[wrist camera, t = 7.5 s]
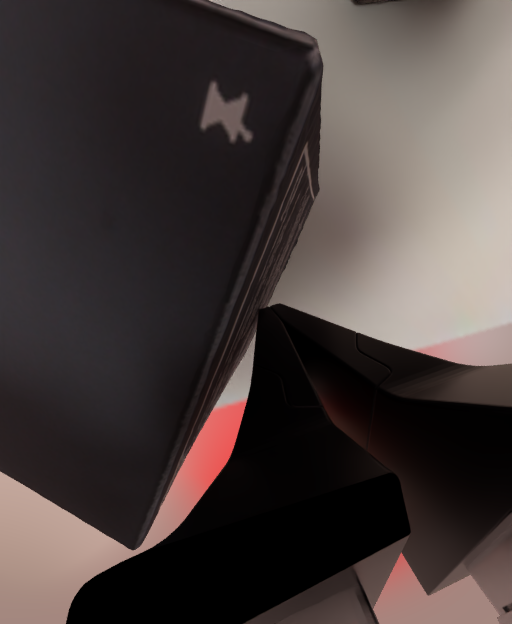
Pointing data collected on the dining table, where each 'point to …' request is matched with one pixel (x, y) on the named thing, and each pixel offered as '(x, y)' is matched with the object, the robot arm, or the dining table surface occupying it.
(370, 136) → the dining table surface
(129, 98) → the small box
